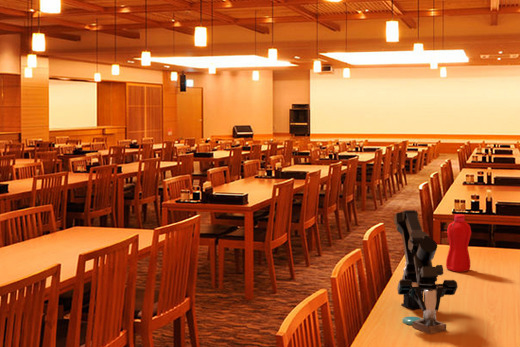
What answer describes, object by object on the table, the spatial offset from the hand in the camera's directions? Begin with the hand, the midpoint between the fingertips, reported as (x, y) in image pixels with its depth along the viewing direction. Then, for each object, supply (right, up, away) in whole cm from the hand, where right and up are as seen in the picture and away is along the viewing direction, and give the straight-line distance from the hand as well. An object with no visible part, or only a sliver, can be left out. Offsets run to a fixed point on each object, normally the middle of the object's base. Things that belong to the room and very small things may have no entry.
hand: (430, 310), depth 209 cm
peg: (0, -6, +2) cm, 7 cm away
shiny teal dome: (-4, -6, +9) cm, 11 cm away
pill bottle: (+7, -1, +58) cm, 58 cm away
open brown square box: (0, -6, +2) cm, 7 cm away
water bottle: (+33, +1, +81) cm, 87 cm away
